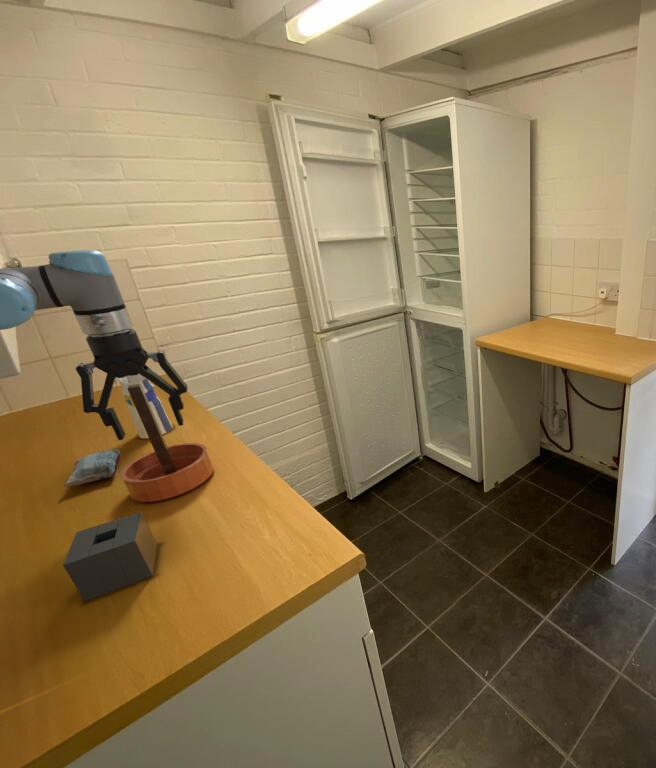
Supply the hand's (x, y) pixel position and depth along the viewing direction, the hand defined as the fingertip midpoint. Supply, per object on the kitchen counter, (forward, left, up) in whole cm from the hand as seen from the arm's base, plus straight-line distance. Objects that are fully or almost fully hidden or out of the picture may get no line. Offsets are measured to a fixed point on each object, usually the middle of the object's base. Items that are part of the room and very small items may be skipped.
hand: (152, 429), depth 92 cm
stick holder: (-6, -27, -14) cm, 31 cm away
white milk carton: (-6, +34, -14) cm, 37 cm away
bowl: (0, 0, -14) cm, 14 cm away
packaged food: (-16, +15, -14) cm, 26 cm away
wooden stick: (0, 0, -13) cm, 13 cm away
